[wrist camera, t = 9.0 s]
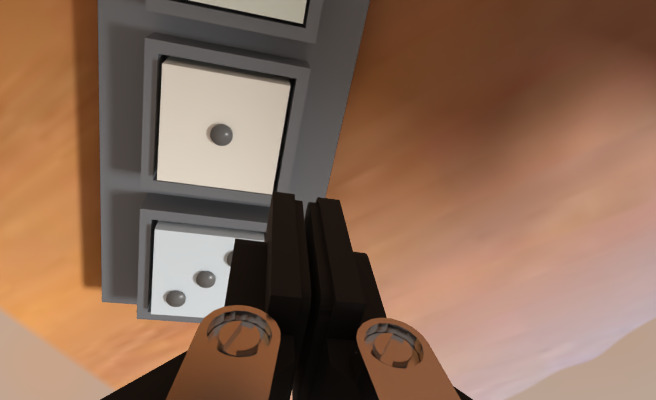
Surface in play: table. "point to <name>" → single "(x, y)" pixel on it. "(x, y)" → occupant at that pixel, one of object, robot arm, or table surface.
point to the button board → (144, 118)
